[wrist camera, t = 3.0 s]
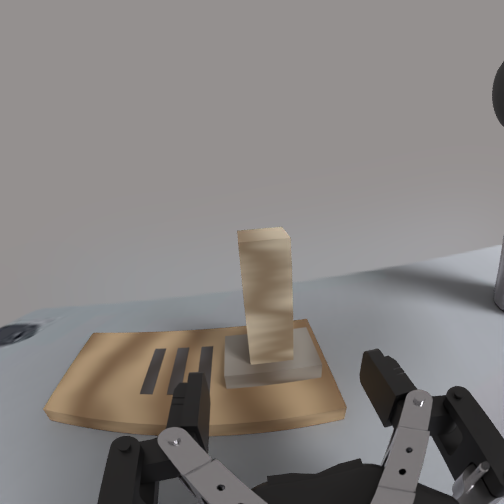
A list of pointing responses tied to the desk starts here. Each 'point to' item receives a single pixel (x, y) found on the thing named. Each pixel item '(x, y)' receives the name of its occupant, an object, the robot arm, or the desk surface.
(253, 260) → the block
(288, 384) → the board
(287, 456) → the desk surface
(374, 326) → the desk surface
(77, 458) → the desk surface
